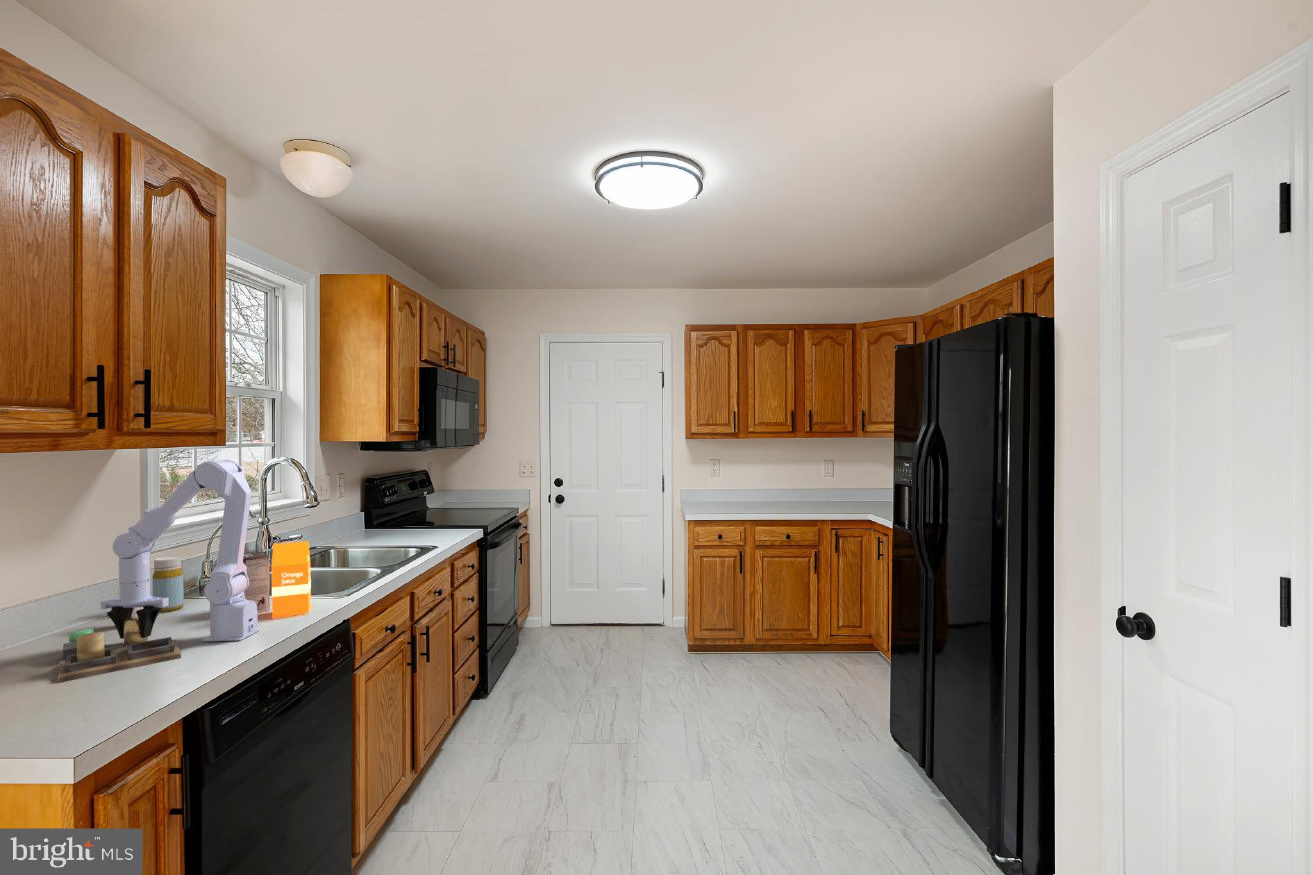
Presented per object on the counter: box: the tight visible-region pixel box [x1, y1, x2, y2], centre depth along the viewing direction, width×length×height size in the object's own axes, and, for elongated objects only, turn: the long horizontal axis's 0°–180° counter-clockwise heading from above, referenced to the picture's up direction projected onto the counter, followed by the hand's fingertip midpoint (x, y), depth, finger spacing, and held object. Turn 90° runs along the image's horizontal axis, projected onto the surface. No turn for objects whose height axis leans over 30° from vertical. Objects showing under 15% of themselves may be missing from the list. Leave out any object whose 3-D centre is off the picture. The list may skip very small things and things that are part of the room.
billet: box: [123, 616, 148, 647], centre depth 150 cm, size 4×4×6 cm
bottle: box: [151, 555, 185, 613], centre depth 179 cm, size 7×7×15 cm
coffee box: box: [243, 551, 271, 614], centre depth 177 cm, size 9×6×16 cm
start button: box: [68, 628, 94, 643], centre depth 141 cm, size 4×4×2 cm
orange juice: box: [271, 540, 312, 619], centre depth 174 cm, size 8×9×20 cm
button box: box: [62, 642, 77, 661], centre depth 141 cm, size 6×6×3 cm
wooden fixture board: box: [57, 631, 182, 683], centre depth 137 cm, size 20×13×7 cm, turn 133°
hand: (135, 637), depth 150 cm, fingers closed on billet, 4 cm apart
